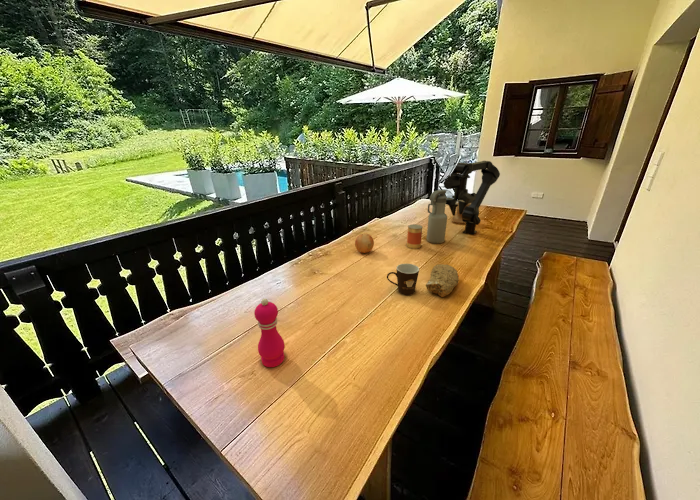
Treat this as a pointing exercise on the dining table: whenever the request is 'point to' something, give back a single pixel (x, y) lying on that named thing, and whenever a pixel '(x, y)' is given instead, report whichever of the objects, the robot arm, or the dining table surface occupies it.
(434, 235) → the water bottle
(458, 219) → the stone cup
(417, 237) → the tin can
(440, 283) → the rock
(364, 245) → the onion
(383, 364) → the dining table surface
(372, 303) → the dining table surface
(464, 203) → the robot arm
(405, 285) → the coffee mug
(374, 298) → the dining table surface
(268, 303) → the pepper mill
